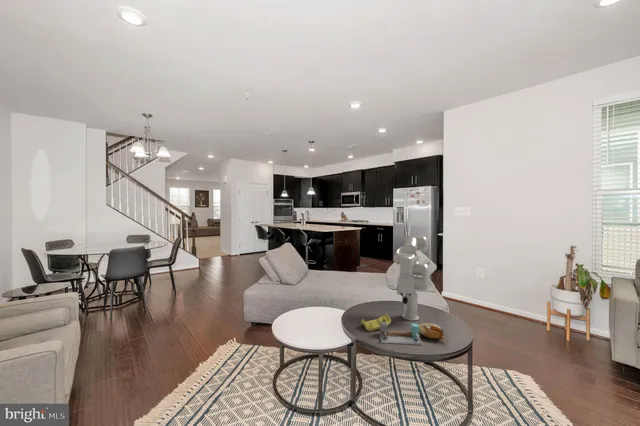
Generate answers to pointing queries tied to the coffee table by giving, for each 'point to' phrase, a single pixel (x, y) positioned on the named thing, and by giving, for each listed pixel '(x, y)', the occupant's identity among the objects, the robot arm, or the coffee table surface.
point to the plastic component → (375, 323)
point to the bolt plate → (401, 340)
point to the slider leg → (415, 330)
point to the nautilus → (431, 331)
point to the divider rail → (386, 333)
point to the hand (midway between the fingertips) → (404, 303)
